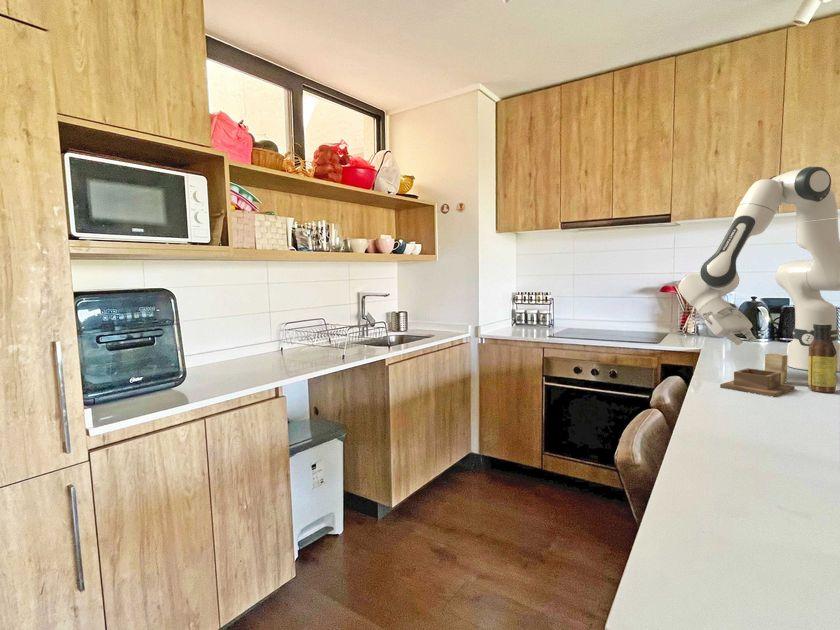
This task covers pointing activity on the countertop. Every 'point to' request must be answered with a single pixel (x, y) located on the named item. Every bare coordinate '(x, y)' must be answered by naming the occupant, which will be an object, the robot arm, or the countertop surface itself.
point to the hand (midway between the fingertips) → (747, 342)
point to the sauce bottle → (822, 360)
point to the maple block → (777, 364)
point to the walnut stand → (757, 382)
